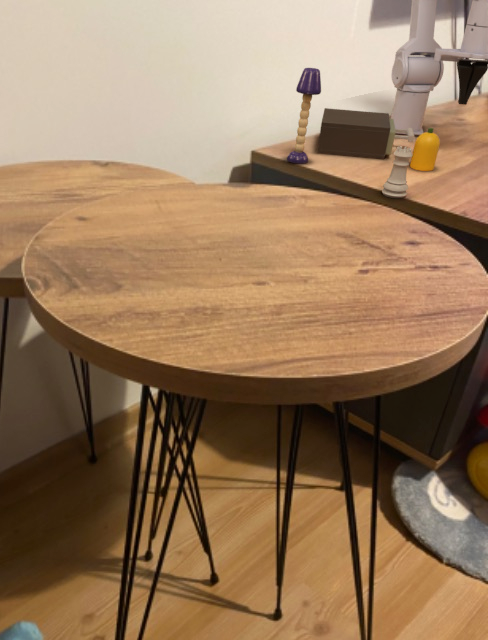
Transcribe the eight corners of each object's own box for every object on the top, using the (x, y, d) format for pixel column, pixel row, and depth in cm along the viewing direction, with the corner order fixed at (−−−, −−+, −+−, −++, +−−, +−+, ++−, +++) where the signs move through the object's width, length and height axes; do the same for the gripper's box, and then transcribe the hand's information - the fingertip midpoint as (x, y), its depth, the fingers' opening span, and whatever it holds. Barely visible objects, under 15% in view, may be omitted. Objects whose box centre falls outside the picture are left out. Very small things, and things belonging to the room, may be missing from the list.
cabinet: (382, 143, 143) (388, 113, 140) (384, 159, 133) (390, 128, 130) (320, 137, 145) (324, 108, 142) (317, 153, 135) (321, 122, 132)
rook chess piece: (377, 190, 118) (387, 144, 113) (401, 190, 118) (412, 144, 113) (385, 199, 114) (395, 152, 109) (410, 199, 114) (421, 152, 110)
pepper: (409, 163, 132) (417, 124, 127) (432, 165, 131) (442, 126, 127) (410, 169, 128) (419, 130, 124) (434, 172, 128) (444, 132, 123)
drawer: (409, 141, 141) (413, 120, 139) (412, 156, 132) (417, 134, 130) (331, 134, 144) (334, 114, 141) (329, 148, 135) (332, 127, 132)
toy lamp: (297, 155, 133) (308, 65, 123) (315, 161, 131) (329, 69, 121) (282, 160, 131) (293, 68, 121) (300, 165, 128) (313, 72, 118)
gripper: (444, 25, 120) (426, 104, 128) (527, 30, 118) (503, 111, 126) (440, 20, 126) (423, 97, 134) (520, 25, 123) (497, 103, 131)
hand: (462, 103), depth 130 cm, fingers closed
